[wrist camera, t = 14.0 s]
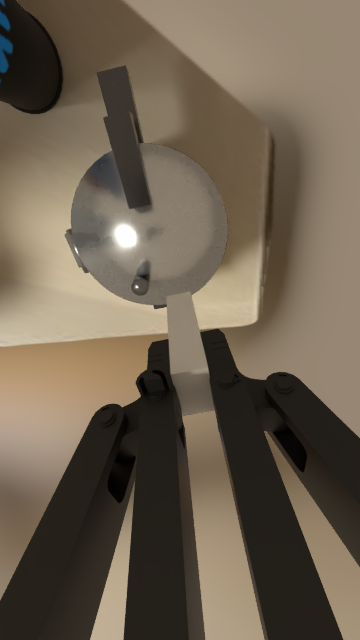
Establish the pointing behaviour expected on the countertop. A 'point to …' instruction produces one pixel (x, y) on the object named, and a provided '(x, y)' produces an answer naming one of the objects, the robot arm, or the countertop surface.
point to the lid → (147, 219)
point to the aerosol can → (27, 61)
